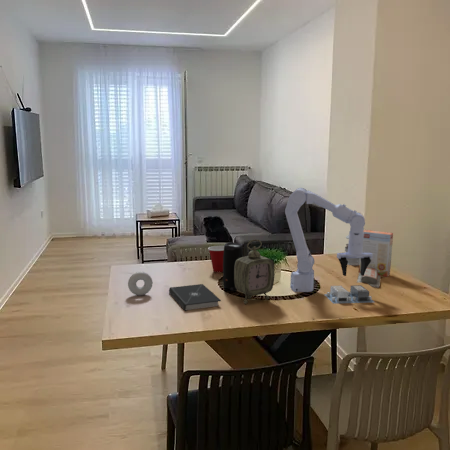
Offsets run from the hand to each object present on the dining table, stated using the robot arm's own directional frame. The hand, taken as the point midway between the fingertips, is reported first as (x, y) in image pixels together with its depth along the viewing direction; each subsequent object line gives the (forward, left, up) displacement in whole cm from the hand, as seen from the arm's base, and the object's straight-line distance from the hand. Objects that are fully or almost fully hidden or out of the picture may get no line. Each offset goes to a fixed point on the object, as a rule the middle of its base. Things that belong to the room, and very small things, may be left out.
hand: (353, 275), depth 195 cm
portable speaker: (-48, +15, -10) cm, 51 cm away
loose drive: (+1, -5, -8) cm, 10 cm away
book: (-65, +2, -10) cm, 66 cm away
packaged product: (+17, +21, -10) cm, 28 cm away
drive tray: (-3, -5, -9) cm, 11 cm away
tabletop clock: (-42, 0, -10) cm, 43 cm away
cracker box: (+24, +32, -10) cm, 41 cm away
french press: (+21, +53, -10) cm, 57 cm away
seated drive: (-7, -5, -8) cm, 12 cm away
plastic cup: (-51, +42, -10) cm, 67 cm away
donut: (-87, +9, -10) cm, 88 cm away
